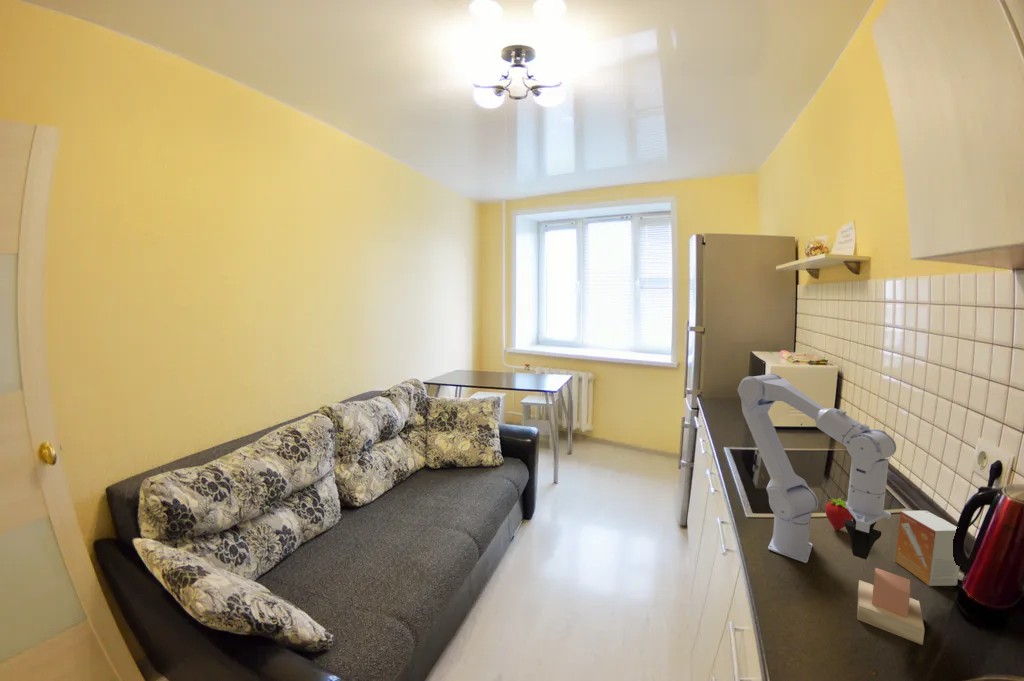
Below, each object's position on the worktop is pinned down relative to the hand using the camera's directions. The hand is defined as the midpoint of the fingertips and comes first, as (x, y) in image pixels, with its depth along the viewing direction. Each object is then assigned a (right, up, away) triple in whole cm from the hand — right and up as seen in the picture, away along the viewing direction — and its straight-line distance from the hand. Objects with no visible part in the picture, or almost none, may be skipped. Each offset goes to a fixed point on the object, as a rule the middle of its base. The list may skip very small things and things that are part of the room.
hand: (860, 548), depth 86 cm
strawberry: (+13, -7, +22) cm, 26 cm away
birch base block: (0, -11, -6) cm, 13 cm away
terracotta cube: (0, -7, -7) cm, 10 cm away
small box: (+19, -9, +5) cm, 22 cm away
